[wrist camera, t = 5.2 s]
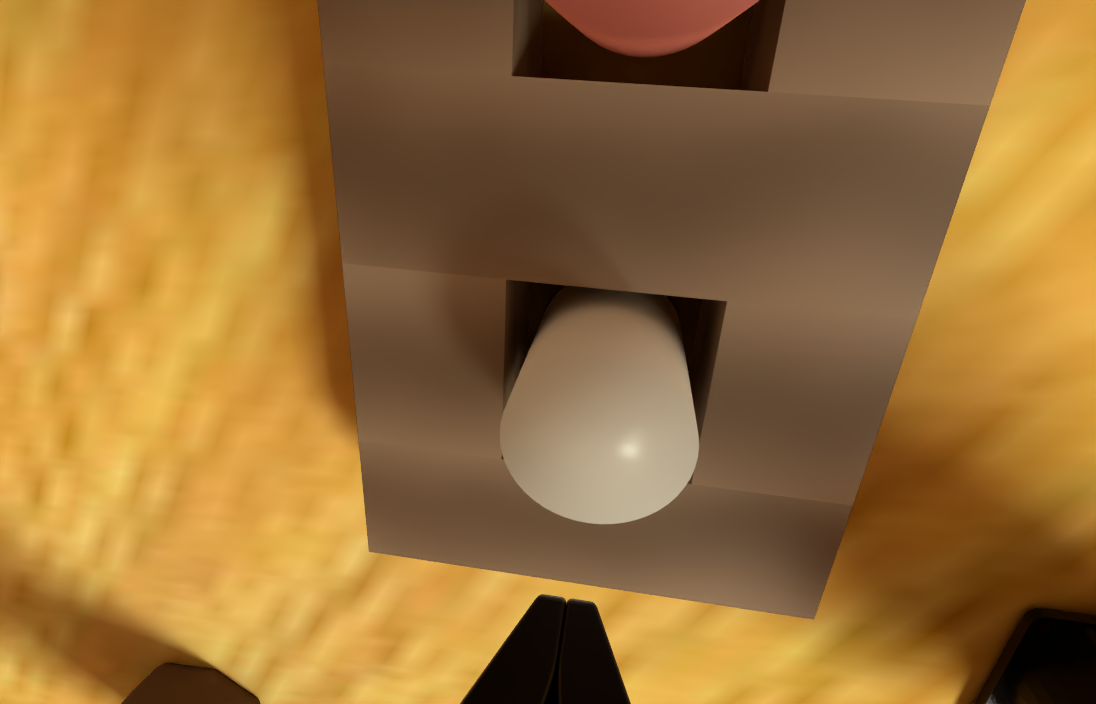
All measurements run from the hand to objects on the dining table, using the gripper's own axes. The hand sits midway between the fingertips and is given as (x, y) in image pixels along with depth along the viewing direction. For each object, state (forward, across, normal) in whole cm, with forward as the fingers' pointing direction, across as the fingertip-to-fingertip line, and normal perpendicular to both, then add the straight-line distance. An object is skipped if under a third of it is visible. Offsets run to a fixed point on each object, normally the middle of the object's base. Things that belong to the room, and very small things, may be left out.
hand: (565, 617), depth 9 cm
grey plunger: (+11, 0, 0) cm, 11 cm away
